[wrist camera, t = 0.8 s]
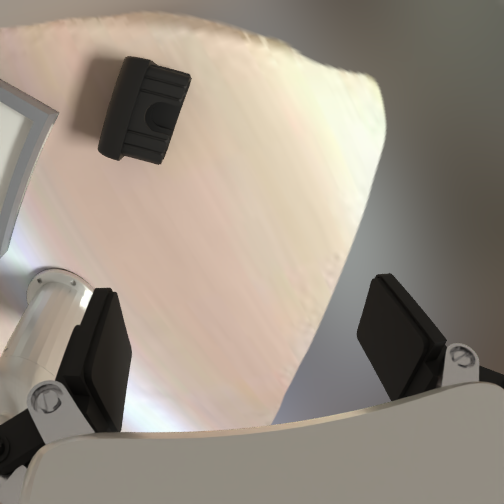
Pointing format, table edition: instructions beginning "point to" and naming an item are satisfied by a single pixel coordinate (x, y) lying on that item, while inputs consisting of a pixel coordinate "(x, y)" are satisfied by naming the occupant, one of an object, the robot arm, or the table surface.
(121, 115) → the end cap
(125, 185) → the table surface
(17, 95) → the tray
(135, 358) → the table surface
